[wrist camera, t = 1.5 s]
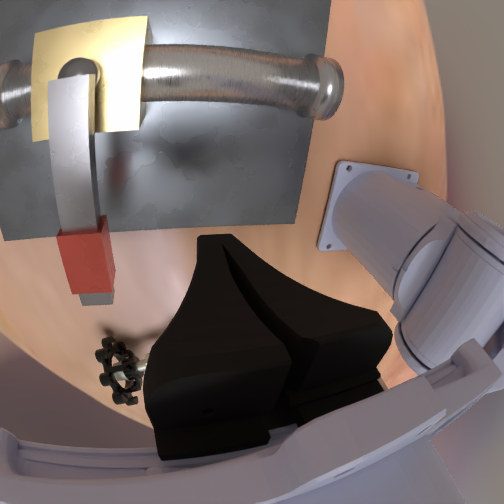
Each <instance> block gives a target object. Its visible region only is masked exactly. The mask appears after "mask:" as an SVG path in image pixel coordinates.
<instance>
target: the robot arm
mask: <svg viewBox="0 0 504 504" xmlns="http://www.w3.org/2000/svg"><path fill="white" fill-rule="evenodd" d="M347 166H349V169H348V170H346V168H347ZM418 179H419V174H418V173H417V172H415V171H410V170H404V169H399V168H393V167H386V166H380V165H374V164H367V163H359V162H352V161H344V160H342V161H339V162H338V163H337V165H336V169H335V174H334V178H333V183H332V187H331V191H330V196H329V200H328V204H327V208H326V212H325V216H324V220H323V224H322V228H321V232H320V236H319V240H318V244H317V248H318V249H319V250H320V251H335V250H349V251H350V252H351V253H352V254H353V255H354V256H355V258H356V259H357V260H358V261H359V262H360V263H361V264H362V265H363V266H364V267H365V269H366V270H367V271H368V272H369V273H370V274H371V275H372V276H373V277H374V279H375V280H376V281H377V282H378V283H379V284H380V285H381V287H382V288H383V289H384V290H385V291H386V292H387V293H388V295H389V296H390V297H391V298H392V299H393V300H394V303H393V306H392V308H391V310H390V312H391V313H392V314H393V315H394V317H395V318H396V319H397V320H398V321H399V322H398V323H397V325H396V327H395V332H394V335H395V341H396V345H397V347H398V349H399V351H400V354H401V356H402V357H403V359H404V361H405V362H406V363H407V365H408V366H409V367H410V368H411V369H412V370H413V371H414V372H416V373H417V374H418V375H419V376H417V377H415V378H412V379H410V380H407V381H405V382H403V383H401V384H399V385H397V386H395V387H392V388H390V389H388V390H386V391H384V389H383V388H382V386H381V384H380V383H379V381H378V380H377V379H379V378H380V377H381V375H380V372H379V371H378V369H377V368H376V367H377V365H378V364H379V362H380V361H381V359H382V358H383V356H384V355H385V353H386V352H387V350H388V348H389V346H390V345H391V341H392V337H393V334H392V330H391V329H390V327H389V326H388V325H387V324H386V322H385V321H384V320H383V318H382V317H381V316H380V315H379V313H378V312H377V311H374V310H370V309H366V308H362V307H358V306H354V305H351V304H348V303H345V302H342V301H339V300H336V299H333V298H331V297H328V296H326V295H323V294H321V293H319V292H316V291H314V290H312V289H310V288H308V287H306V286H304V285H302V284H300V283H298V282H296V281H294V280H293V279H291V278H289V277H287V276H286V275H284V274H283V273H281V272H279V271H278V270H276V269H275V268H274V267H272V266H271V265H269V264H268V263H266V262H265V261H264V260H262V259H261V258H260V257H259V256H257V255H256V254H255V253H254V252H252V251H251V250H250V249H249V248H247V247H246V246H245V245H244V244H243V243H242V242H240V241H239V240H238V239H237V238H236V237H234V236H233V235H232V234H214V235H200V236H199V237H198V238H197V263H196V267H195V270H194V274H193V277H192V280H191V283H190V286H189V288H188V291H187V293H186V295H185V297H184V299H183V301H182V303H181V305H180V307H179V309H178V311H177V313H176V314H175V316H174V317H173V319H172V320H171V322H170V324H169V325H168V327H167V328H166V330H165V331H164V332H163V334H162V335H161V336H160V337H159V339H158V340H157V341H156V342H155V344H154V345H153V346H152V348H151V351H150V354H149V358H148V361H147V365H146V369H145V374H144V381H143V394H144V403H145V410H146V412H147V414H148V417H149V419H150V421H151V423H152V426H153V428H154V433H155V439H156V446H157V447H154V448H129V449H105V448H81V447H67V446H57V445H48V444H41V443H34V442H28V441H22V440H17V438H16V437H15V436H14V435H13V434H11V433H10V432H9V431H7V430H5V429H3V428H1V427H0V504H467V503H466V502H465V500H464V498H463V496H462V494H461V493H460V491H459V489H458V487H457V485H456V484H455V482H454V480H453V478H452V476H451V475H450V473H449V471H448V469H447V468H446V466H445V464H444V462H443V461H442V459H441V458H440V456H439V454H438V452H437V451H436V449H435V447H434V446H433V444H432V442H431V441H430V438H432V437H433V436H434V435H436V434H437V433H439V432H440V431H441V430H443V429H444V428H445V427H446V426H448V425H449V424H450V423H452V422H453V421H454V420H455V419H457V418H458V417H459V416H461V415H462V414H463V413H464V412H466V411H467V410H468V409H469V408H470V407H471V406H473V405H474V404H475V403H476V402H477V401H478V400H479V399H480V398H481V397H482V396H483V395H484V394H486V393H490V392H494V391H497V390H501V389H504V228H502V227H501V226H499V225H498V224H496V223H495V222H493V221H492V220H490V219H489V218H487V217H485V216H484V215H482V214H480V213H478V212H476V211H474V210H469V211H466V212H461V213H460V212H459V211H458V210H456V209H455V208H454V207H452V206H451V205H449V204H448V203H446V202H445V201H443V200H442V199H440V198H439V197H437V196H436V195H434V194H432V193H431V192H429V191H428V190H426V189H425V188H423V187H421V186H420V185H418V184H417V182H418ZM328 244H329V245H328ZM327 245H328V246H327ZM326 246H327V247H326Z"/></svg>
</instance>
